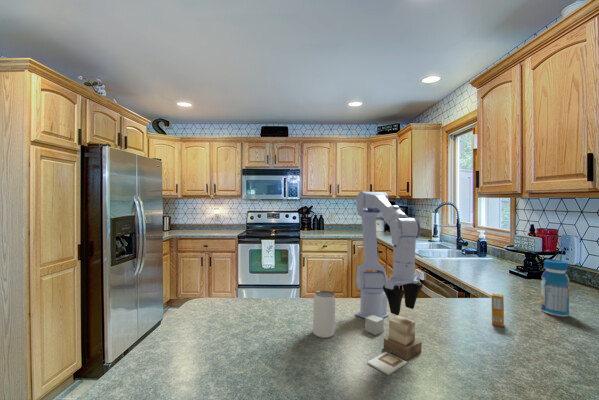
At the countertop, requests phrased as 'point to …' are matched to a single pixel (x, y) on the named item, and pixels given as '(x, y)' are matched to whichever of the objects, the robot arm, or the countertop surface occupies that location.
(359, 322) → the countertop surface
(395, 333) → the maple cube
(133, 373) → the countertop surface
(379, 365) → the card
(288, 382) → the countertop surface
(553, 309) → the supplement bottle
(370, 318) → the grey cube
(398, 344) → the walnut block
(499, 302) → the supplement box
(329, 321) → the can
